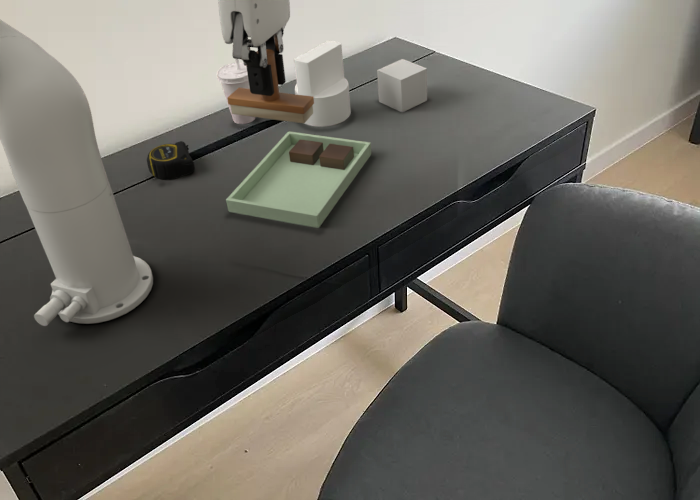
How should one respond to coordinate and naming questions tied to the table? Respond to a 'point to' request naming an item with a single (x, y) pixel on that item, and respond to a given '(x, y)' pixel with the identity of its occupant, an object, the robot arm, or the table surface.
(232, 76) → the smoothie
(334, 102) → the base with upright slab
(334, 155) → the chip
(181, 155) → the tape measure
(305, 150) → the dark brown square block
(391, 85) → the light grey cube
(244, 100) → the brush
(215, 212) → the table surface
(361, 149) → the tray
